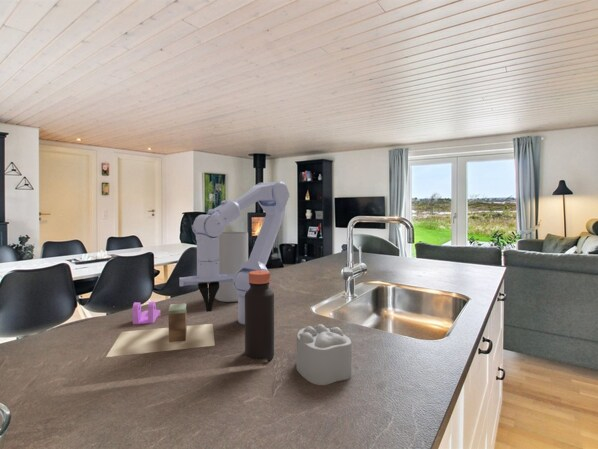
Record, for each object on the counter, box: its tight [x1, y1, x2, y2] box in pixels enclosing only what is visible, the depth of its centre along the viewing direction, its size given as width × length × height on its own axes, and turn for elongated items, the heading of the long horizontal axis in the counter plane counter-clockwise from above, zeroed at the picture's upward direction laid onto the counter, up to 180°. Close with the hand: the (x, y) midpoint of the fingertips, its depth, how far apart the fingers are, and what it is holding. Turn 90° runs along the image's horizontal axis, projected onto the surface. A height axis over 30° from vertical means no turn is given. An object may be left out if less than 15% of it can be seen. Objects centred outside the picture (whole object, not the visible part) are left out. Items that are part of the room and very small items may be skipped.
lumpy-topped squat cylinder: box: [296, 323, 353, 386], centre depth 74 cm, size 10×13×9 cm
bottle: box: [244, 270, 275, 362], centre depth 79 cm, size 7×7×20 cm
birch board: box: [105, 323, 216, 358], centre depth 88 cm, size 24×16×1 cm, turn 106°
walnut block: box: [168, 302, 188, 342], centre depth 88 cm, size 4×6×8 cm, turn 16°
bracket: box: [131, 301, 161, 325], centre depth 105 cm, size 13×6×7 cm, turn 12°
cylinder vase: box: [215, 231, 249, 303], centre depth 129 cm, size 12×12×25 cm
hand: (208, 310), depth 91 cm, fingers closed
